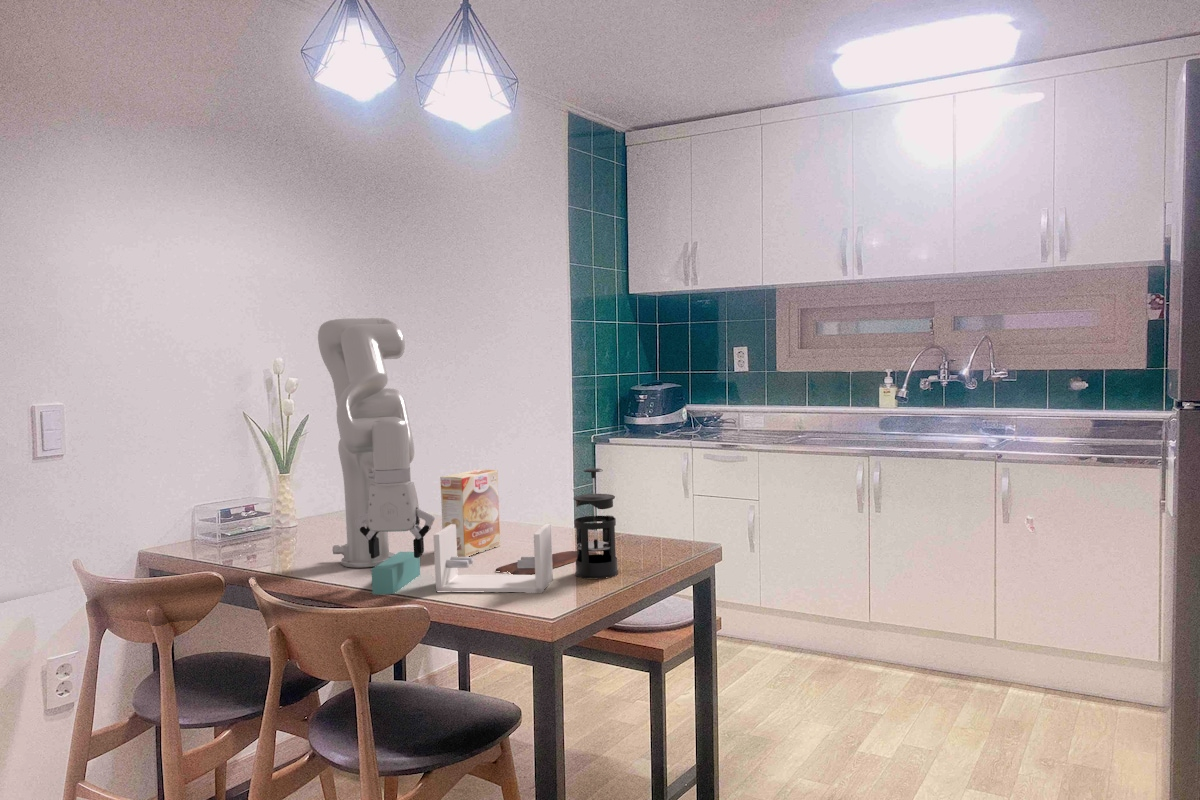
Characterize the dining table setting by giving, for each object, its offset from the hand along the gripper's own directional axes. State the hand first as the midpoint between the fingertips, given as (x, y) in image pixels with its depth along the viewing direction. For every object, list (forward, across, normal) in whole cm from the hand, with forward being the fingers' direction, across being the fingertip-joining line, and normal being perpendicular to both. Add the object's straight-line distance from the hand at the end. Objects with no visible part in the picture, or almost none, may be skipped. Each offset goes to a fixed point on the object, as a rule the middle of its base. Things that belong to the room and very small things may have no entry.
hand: (396, 556), depth 192 cm
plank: (+6, 0, +1) cm, 6 cm away
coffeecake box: (+6, +7, +33) cm, 34 cm away
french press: (+7, +42, +11) cm, 43 cm away
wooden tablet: (+7, +29, +20) cm, 36 cm away
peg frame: (+6, +22, 0) cm, 23 cm away
